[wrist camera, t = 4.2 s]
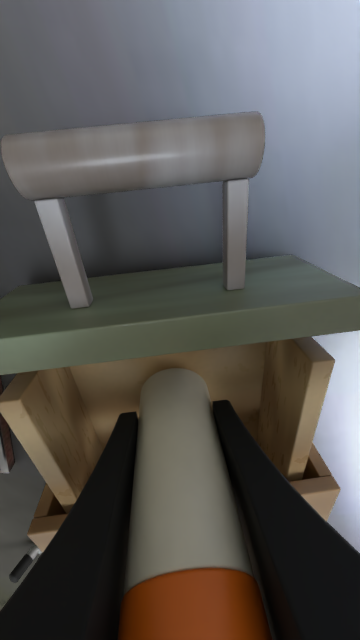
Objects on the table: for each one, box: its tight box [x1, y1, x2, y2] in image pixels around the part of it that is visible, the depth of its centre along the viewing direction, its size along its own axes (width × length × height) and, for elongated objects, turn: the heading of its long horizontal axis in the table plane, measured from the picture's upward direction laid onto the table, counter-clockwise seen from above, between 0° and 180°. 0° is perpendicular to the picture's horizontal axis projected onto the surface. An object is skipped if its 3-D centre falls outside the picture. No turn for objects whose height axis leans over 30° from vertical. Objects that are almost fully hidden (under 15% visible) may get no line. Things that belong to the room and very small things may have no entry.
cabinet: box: [27, 443, 340, 552], centre depth 16 cm, size 13×13×6 cm
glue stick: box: [118, 368, 273, 640], centre depth 8 cm, size 3×3×8 cm
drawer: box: [0, 111, 360, 514], centre depth 10 cm, size 17×12×5 cm
